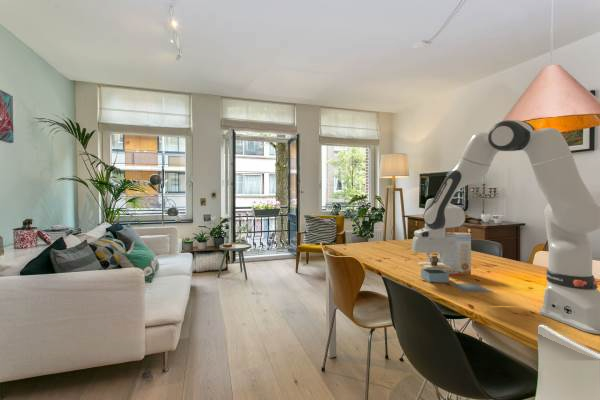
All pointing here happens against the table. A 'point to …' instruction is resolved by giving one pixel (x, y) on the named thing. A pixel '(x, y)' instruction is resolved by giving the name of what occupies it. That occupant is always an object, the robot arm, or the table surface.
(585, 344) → the table surface
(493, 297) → the table surface
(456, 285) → the mat
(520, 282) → the table surface
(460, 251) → the cracker box
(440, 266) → the lid
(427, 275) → the blue square tray
